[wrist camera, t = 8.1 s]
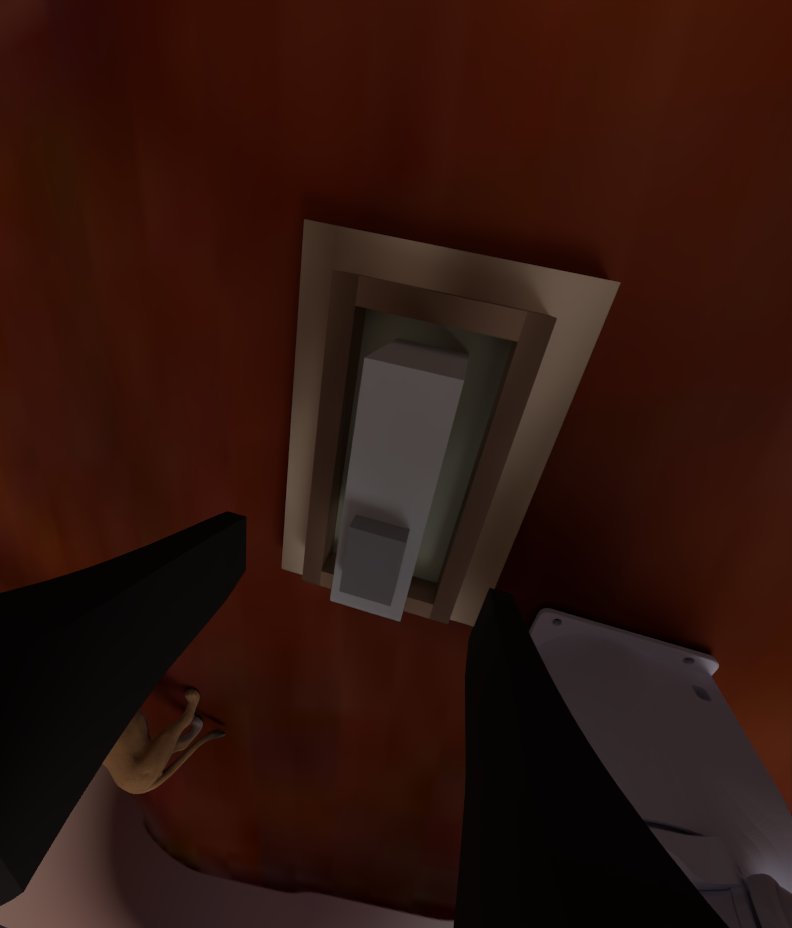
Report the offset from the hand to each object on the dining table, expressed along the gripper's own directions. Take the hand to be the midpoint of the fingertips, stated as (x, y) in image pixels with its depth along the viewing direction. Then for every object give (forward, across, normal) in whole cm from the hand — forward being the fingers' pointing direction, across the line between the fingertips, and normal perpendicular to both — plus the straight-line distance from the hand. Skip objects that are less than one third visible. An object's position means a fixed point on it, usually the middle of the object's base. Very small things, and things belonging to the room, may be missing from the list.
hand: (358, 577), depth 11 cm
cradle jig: (+9, 0, 0) cm, 9 cm away
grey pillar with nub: (+8, 0, 0) cm, 8 cm away
